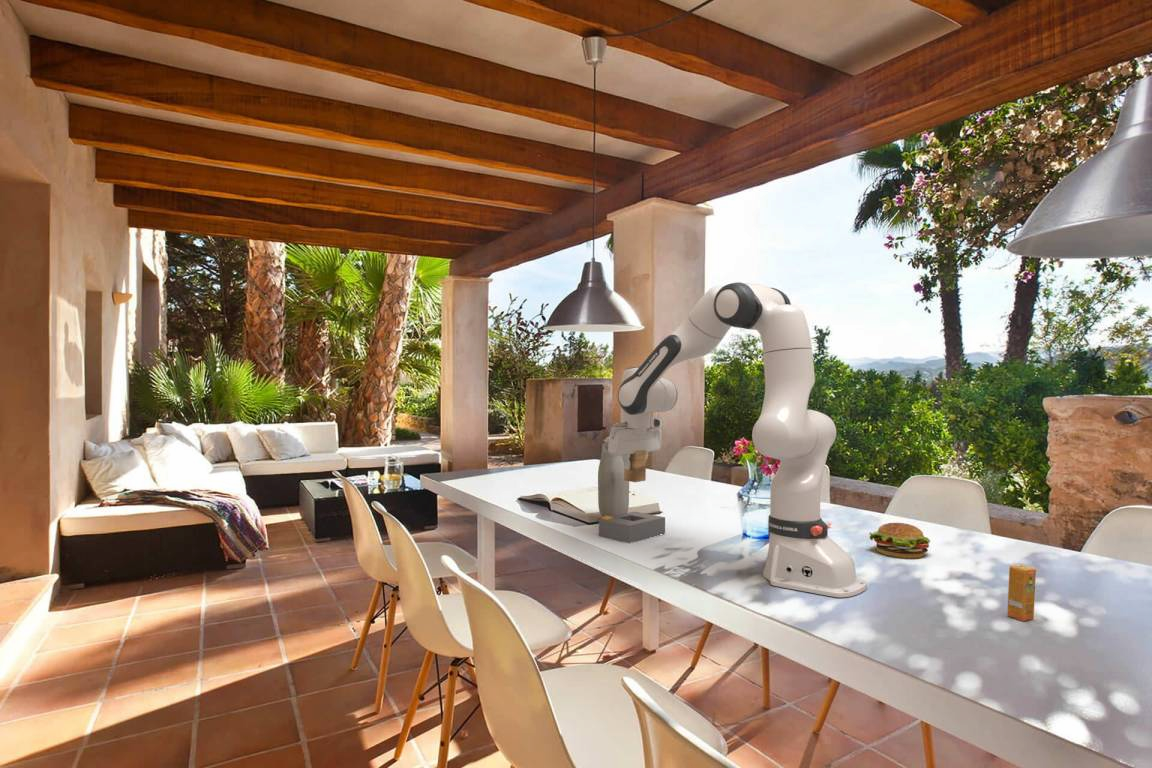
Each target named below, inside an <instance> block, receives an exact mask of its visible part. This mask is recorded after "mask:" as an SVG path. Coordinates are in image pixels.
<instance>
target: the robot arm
mask: <svg viewBox="0 0 1152 768" xmlns="http://www.w3.org/2000/svg"><path fill="white" fill-rule="evenodd" d="M732 327H733V328H736V329H737V328H739V329H744V330H750V331H751V330H753V331H757V333H759V336H760V339H761V345H762V356H763V369H764V384H765V385H764V396H763V397H764V398H763V403H762V408H761V412H760V415H759V417H758V420H756V422H755V424H754V425H753V427H752V433H751V437H752V439H751V440H752V443H753V446H754V447H755V448H756V450H757V451H758V452H759V453H760V454H761V455H762V456H764V457H767V458H770V459H775V460H779V461H780V462H779V465H778V468H777V471H776V473H775V475H774V476H773V477H772V478H771V482H770V493H769V494H770V501H769V502H770V504H769V506H770V510H769V511H770V514H769V515H768V521H767V522H768V524H767V526H768V527H767V532H768V538H769V540H768V549H767V556H766V562H765V565H764V569H763V572H762V576H763V577H764V578H765V579H766V580H768V581H769V584H770V585H772V586H774V587H778V588H785V589H789V590H796V591H800V592H807V593H811V594H817V595H822V596H827V597H828V596H829V597H833V598H849V597H853V596H856V595H859V594H862V593H863V592H864V591H865V590H866V589H867V587H868V585H867V581H866V580H865V579H862V578H859V577H857V573H856V572H857V571H856V566H855V562H854V560H853V557H852V556H851V555H850V554H849V553H848V552H846V551H845V550H844V549H843V548H842V547H841V546H840V545H838V544H837V543H836V542H835V541H834V540H833V539H832V538H831V537H830V536H829V533H828V530H829V529H831V528H832V526H831V525H832V523H831V522H830V523H825V521H824V520H823V519H822V518H821V492H822V491H821V489H822V487H821V486H822V480H823V475H824V472H825V471H824V470H825V467H826V464H827V463H826V462H827V458H828V456H829V452H830V449H831V447H832V446H833V445H834V443H835V440H836V437H837V427H836V424H835V422H834V421H833V420H832V419H831V417H829V416H828V415H827V414H825V413H822V412H820V411H816V410H813V409H808V405H809V399H810V394H811V391H812V389H813V387H814V385H815V382H816V376H815V365H814V356H813V347H812V346H813V344H812V340H811V333H810V330H809V325H808V321H807V319H806V315H805V313H804V311H803V310H802V309H801V308H800V307H799V306H796V305H793V304H791V300H790V298H789V297H788V295H786V293H785V292H783V291H782V290H780V289H778V288H775V287H768V286H765V285H761V284H758V283H744V282H739V281H738V282H737V281H736V282H731V283H728V284H726V285H723V286H721V285H717V286H713V287H711V288H709V289H708V290H707V291H706V292H705V293H704V294H703V295H702V296H701V297H700V298H699V300H698V301H697V302H696V303H695V304H694V306H693V307H692V309H691V310H690V311H689V313H688V314H687V316H686V317H685V318H684V319H683V321H682V322H681V323H680V325H678V326H677V328H675V330H673V331H672V332H671V333H670V334H669V335H668V336H666V337H665V338H664V339H663V340H662V341H661V342H659V343H658V345H657V346H656V347H655V348H654V349H653V351H652V352H650V354H649V356H647V358H646V359H645V360H644V361H643V362H642V364H641V365H640V366H632V367H628V368H626V369H625V370H624V371H623V373H622V377H621V378H622V379H621V384H620V386H619V388H618V391H617V400H618V404H619V406H620V407H621V408H620V422H615V423H614V424H613V425H612V426H611V427H610V432H609V435H608V436H609V444H608V452H609V454H610V455H616V456H619V455H622V459H623V462H624V463H625V467H624V468H625V469H627V470H629V469H632V463H630V460H629V458H630V454H634V453H635V451H643V450H646V461H647V460H648V458H649V453H653V452H660V450H661V448H662V444H663V443H662V439H663V438H662V429H661V427H662V426H663V425H662V424H663V421H662V420H661V419H659V418H657V417H656V416H655V417H654V416H653V415H652V413H663V412H668V411H672V409H673V408H674V407H675V405H676V403H678V402H677V401H678V389H677V387H676V385H675V383H674V382H673V381H672V380H671V379H667V378H664V377H663V376H664V375H665V373H666V372H667V371H668V370H669V369H671V368H672V367H673V366H675V365H677V364H679V363H681V362H684V361H685V362H686V361H688V360H692V359H698V358H702V357H704V356H706V355H709V354H710V353H711V352H713V351H714V350H715V348H717V346H719V344H720V343H721V342H722V340H723V339H724V337H725V336H726V335H727V333H728V332H729V330H730V329H731V328H732Z"/></svg>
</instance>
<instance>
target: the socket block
mask: <svg viewBox="0 0 1152 768" xmlns="http://www.w3.org/2000/svg"><path fill="white" fill-rule="evenodd" d="M664 533H665V534H666V516H661V515H660V516H659V515H656V514H651V513H644V512H640V511H630V512H627V513H625V514H620V515H615V516H611V517H610V516H605V517H602V516H601V518H598V536H599V537H603V538H607V539H610V540H615V541H618V540H619V541H618V542H622V541H623V543H626V542H628V543H627V544H632V543H636V542H640V541H644V540H646V538H648V539H651V538H650V537H652V538H655V537H654V536H656V537H658V536H657V535H659V536H661V535H660V534H663V535H665V534H664ZM643 539H644V540H643ZM639 540H640V541H639ZM635 541H636V542H635ZM631 542H632V543H631Z"/></svg>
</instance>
